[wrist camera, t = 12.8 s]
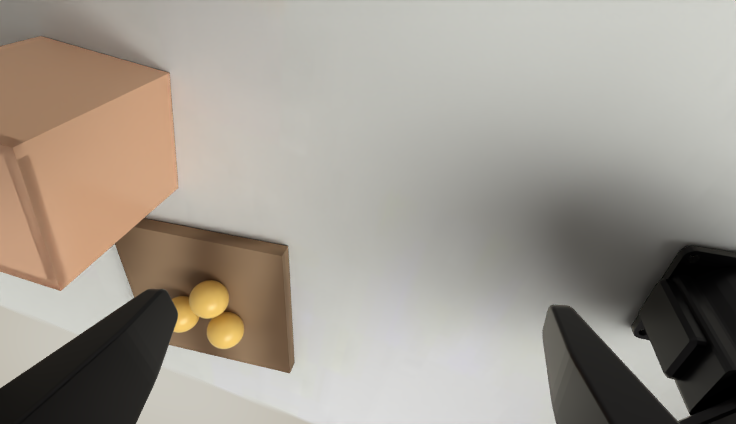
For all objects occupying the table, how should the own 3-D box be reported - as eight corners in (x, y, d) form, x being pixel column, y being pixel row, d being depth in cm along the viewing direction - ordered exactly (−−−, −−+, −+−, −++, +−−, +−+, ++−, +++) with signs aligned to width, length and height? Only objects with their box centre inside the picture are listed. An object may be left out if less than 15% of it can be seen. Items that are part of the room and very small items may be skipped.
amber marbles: (227, 272, 28) (208, 299, 26) (254, 329, 31) (239, 357, 29) (159, 272, 29) (136, 298, 27) (191, 326, 32) (172, 353, 30)
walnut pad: (288, 246, 26) (282, 256, 26) (294, 362, 33) (289, 373, 33) (117, 213, 28) (107, 221, 27) (157, 330, 35) (149, 340, 34)
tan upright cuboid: (169, 72, 22) (12, 147, 14) (178, 187, 26) (61, 290, 18) (40, 35, 22) (-177, 90, 15) (70, 155, 26) (-87, 243, 19)
